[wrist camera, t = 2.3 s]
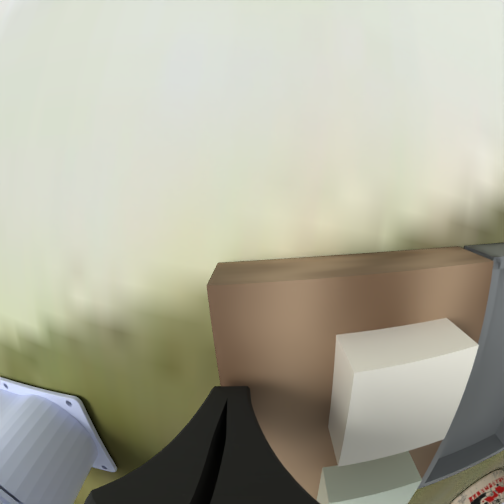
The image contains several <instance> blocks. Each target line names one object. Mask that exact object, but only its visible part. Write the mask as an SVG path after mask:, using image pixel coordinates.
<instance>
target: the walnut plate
mask: <svg viewBox="0 0 504 504" xmlns="http://www.w3.org/2000/svg"><path fill="white" fill-rule="evenodd" d="M493 262H494V261H492V260H490V259H488V258H485V257H483V256H480V255H478V254H475V253H473V252H471V251H468V250H466V249H463V248H460V247H458V246H457V247H444V248H431V249H418V250H405V251H391V252H377V253H363V254H349V255H334V256H319V257H304V258H289V259H274V260H258V261H242V262H225V263H218V264H217V266H216V268H215V270H214V272H213V274H212V276H211V278H210V280H209V282H208V284H207V292H208V300H209V308H210V316H211V323H212V331H213V338H214V345H215V352H216V358H217V365H218V371H219V378H220V384H221V386H248V387H249V388H250V394H251V403H252V407H253V410H254V413H255V416H256V418H257V421H258V423H259V425H260V428H261V430H262V432H263V434H264V436H265V438H266V440H267V441H268V443H269V445H270V447H271V448H272V450H273V451H274V453H275V454H276V456H277V457H278V459H279V460H280V462H281V463H282V464H283V466H284V467H285V468H286V469H287V471H288V472H289V473H290V474H291V475H292V477H293V478H294V479H295V480H296V481H297V482H298V483H299V484H300V485H301V486H302V487H303V488H304V489H305V490H306V491H307V492H308V493H309V494H310V495H311V496H312V497H313V498H314V499H315V500H317V495H318V490H319V484H320V479H321V473H322V468H323V467H330V466H336V465H338V464H337V460H336V456H335V452H334V448H333V444H332V440H331V436H330V432H329V428H328V424H329V415H330V406H331V397H332V386H333V374H334V361H335V347H336V335H339V334H347V333H356V332H363V331H371V330H378V329H385V328H392V327H398V326H404V325H410V324H416V323H422V322H427V321H432V320H438V319H443V318H447V319H449V320H450V321H451V322H452V323H453V324H455V325H456V326H457V327H458V328H460V329H461V330H462V331H463V332H464V333H465V334H467V335H468V336H469V337H470V338H471V339H473V340H474V341H475V342H476V343H477V344H478V341H479V338H480V334H481V329H482V325H483V321H484V316H485V312H486V307H487V301H488V296H489V290H490V284H491V277H492V270H493ZM441 442H442V440H440V441H437V442H434V443H431V444H428V445H425V446H422V447H419V448H416V449H413V450H409V453H410V455H411V457H412V459H413V461H414V464H415V466H416V468H417V470H418V472H419V474H420V476H421V479H422V478H423V476H424V474H425V473H426V471H427V469H428V467H429V465H430V464H431V462H432V460H433V458H434V456H435V454H436V452H437V450H438V448H439V446H440V444H441Z"/></svg>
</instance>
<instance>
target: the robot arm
mask: <svg viewBox="0 0 504 504" xmlns="http://www.w3.org/2000/svg"><path fill="white" fill-rule="evenodd" d="M91 467H94V468H98V469H101V470H105V471H110V472H116V470H117V467H116V465H115V463H114V462H113V460H112V458H111V457H110V455H109V453H108V452H107V450H106V448H105V446H104V444H103V443H102V441H101V439H100V437H99V435H98V433H97V431H96V429H95V427H94V425H93V424H92V422H91V419H90V417H89V415H88V413H87V411H86V409H85V407H84V405H83V403H82V401H81V400H80V399H79V398H78V397H76V396H72V395H67V394H62V393H58V392H53V391H49V390H45V389H41V388H37V387H33V386H29V385H26V384H22V383H19V382H15V381H12V380H9V379H5V378H2V377H0V504H73V503H74V501H75V499H76V497H77V495H78V493H79V491H80V489H81V487H82V485H83V483H84V481H85V479H86V477H87V475H88V473H89V471H90V469H91ZM84 504H320V503H319V502H318V501H317V500H315V499H314V498H313V497H312V496H311V495H310V494H309V493H308V492H307V491H306V490H305V489H304V488H303V487H302V486H301V485H300V484H299V483H298V482H297V481H296V480H295V479H294V478H293V477H292V475H291V474H290V473H289V472H288V471H287V469H286V468H285V467H284V466H283V464H282V463H281V462H280V460H279V459H278V457H277V456H276V454H275V453H274V451H273V450H272V448H271V447H270V445H269V443H268V441H267V440H266V438H265V436H264V434H263V432H262V430H261V428H260V425H259V423H258V421H257V418H256V416H255V413H254V410H253V407H252V403H251V394H250V388H249V387H248V386H215V387H214V388H213V389H212V390H211V392H210V393H209V395H208V397H207V398H206V400H205V401H204V403H203V404H202V406H201V407H200V408H199V410H198V411H197V412H196V414H195V415H194V416H193V418H192V419H191V420H190V421H189V423H188V424H187V425H186V426H185V427H184V428H183V430H182V431H181V432H180V433H179V434H178V435H177V436H176V437H175V438H174V439H173V440H172V441H171V442H170V443H169V444H168V445H167V446H166V447H165V448H164V449H163V450H161V451H160V452H159V453H158V454H157V455H155V456H154V457H153V458H151V459H150V460H149V461H147V462H146V463H145V464H143V465H142V466H140V467H139V468H137V469H135V470H134V471H132V472H130V473H129V474H127V475H125V476H123V477H122V478H120V479H118V480H116V481H113V482H111V483H109V484H106V485H104V486H102V487H99V488H97V489H94V490H92V491H91V492H90V494H89V496H88V497H87V499H86V501H85V503H84ZM502 504H504V502H503V503H502Z"/></svg>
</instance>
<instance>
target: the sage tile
mask: <svg viewBox="0 0 504 504" xmlns="http://www.w3.org/2000/svg"><path fill="white" fill-rule="evenodd" d="M421 481H422V479H421V476H420V474H419V472H418V470H417V468H416V466H415V464H414V461H413V459H412V457H411V455H410V453H409V451H406V452H402V453H399V454H395V455H391V456H387V457H383V458H379V459H375V460H370V461H366V462H361V463H356V464H351V465H345V466H339V467H338V465H336V466H330V467H323V468H322V473H321V479H320V484H319V490H318V495H317V501H318V502H319V503H320V504H408V502H409V500H410V499H411V497H412V496H413V494H414V493H415V491H416V490H417V488H418V486H419V485H420V483H421Z"/></svg>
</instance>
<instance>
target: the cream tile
mask: <svg viewBox="0 0 504 504" xmlns="http://www.w3.org/2000/svg"><path fill="white" fill-rule="evenodd" d="M478 347H479V345H478V344H477V343H476V342H475V341H474V340H473V339H471V338H470V337H469V336H468V335H467V334H465V333H464V332H463V331H462V330H461V329H460V328H458V327H457V326H456V325H455V324H453V323H452V322H451V321H450V320H449V319H447V318H443V319H438V320H432V321H427V322H422V323H416V324H410V325H404V326H398V327H392V328H385V329H378V330H371V331H363V332H356V333H347V334H339V335H336V347H335V361H334V374H333V386H332V397H331V406H330V415H329V424H328V428H329V432H330V436H331V440H332V444H333V448H334V452H335V456H336V460H337V464H338V467H339V466H345V465H351V464H356V463H361V462H366V461H370V460H375V459H379V458H383V457H387V456H391V455H395V454H399V453H402V452H406V451H409V450H413V449H416V448H419V447H422V446H425V445H428V444H431V443H434V442H437V441H440V440H443V439H444V438H445V436H446V434H447V432H448V430H449V427H450V425H451V423H452V421H453V418H454V416H455V414H456V411H457V409H458V406H459V404H460V401H461V399H462V396H463V393H464V391H465V388H466V385H467V382H468V379H469V376H470V373H471V370H472V367H473V364H474V360H475V357H476V354H477V350H478Z"/></svg>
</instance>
